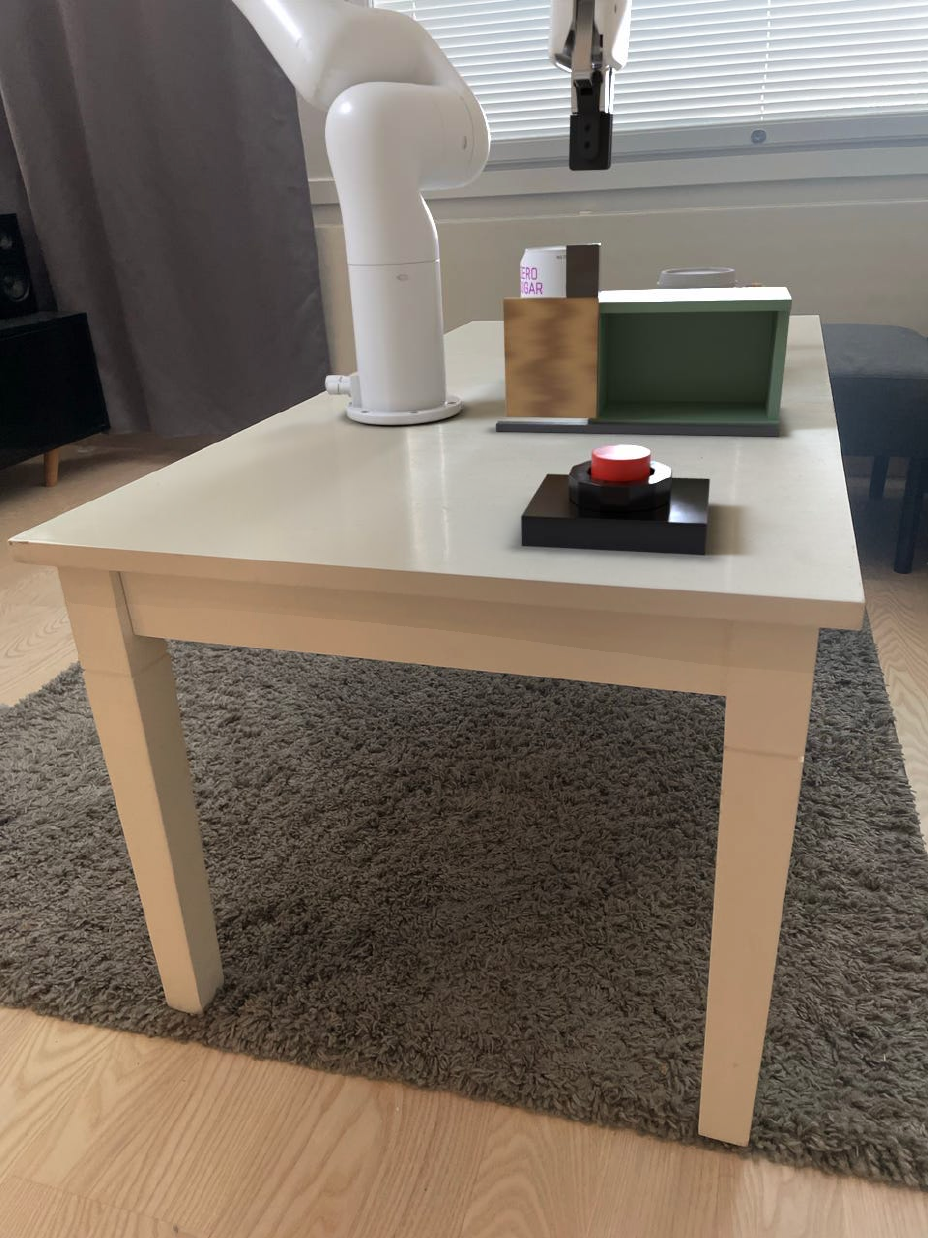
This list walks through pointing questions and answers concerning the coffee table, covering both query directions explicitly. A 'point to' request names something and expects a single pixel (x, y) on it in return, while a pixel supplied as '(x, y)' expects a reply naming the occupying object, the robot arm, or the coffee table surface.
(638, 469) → the button
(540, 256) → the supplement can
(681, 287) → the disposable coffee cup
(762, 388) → the cabinet
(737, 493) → the coffee table surface
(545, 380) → the sliding door
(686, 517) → the button box
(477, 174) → the robot arm
